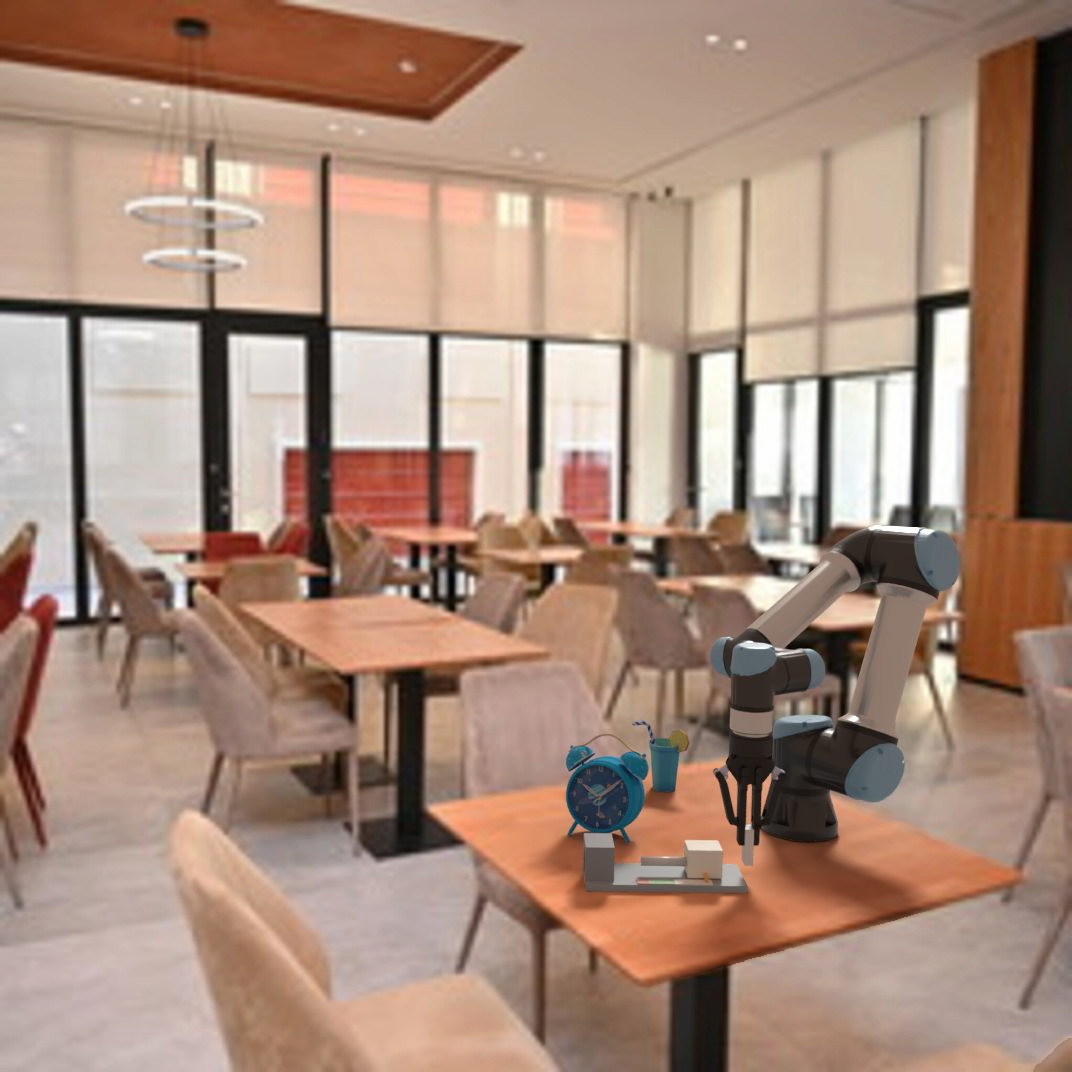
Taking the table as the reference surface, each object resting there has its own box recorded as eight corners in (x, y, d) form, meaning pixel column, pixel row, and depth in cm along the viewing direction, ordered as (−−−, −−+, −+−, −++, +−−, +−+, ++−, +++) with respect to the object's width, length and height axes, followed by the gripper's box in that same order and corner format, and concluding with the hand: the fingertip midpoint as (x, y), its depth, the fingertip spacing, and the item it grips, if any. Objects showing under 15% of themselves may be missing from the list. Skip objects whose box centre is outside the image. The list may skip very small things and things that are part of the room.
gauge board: (736, 870, 194) (737, 831, 193) (747, 892, 184) (748, 852, 183) (582, 868, 194) (583, 830, 193) (585, 891, 184) (586, 850, 183)
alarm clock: (555, 838, 209) (556, 738, 207) (571, 822, 218) (573, 726, 217) (638, 850, 203) (640, 747, 201) (651, 833, 213) (653, 734, 211)
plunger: (717, 867, 191) (717, 840, 191) (724, 883, 184) (725, 854, 184) (639, 866, 191) (639, 839, 191) (643, 882, 184) (644, 854, 184)
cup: (625, 788, 241) (626, 723, 240) (636, 779, 248) (638, 715, 247) (684, 797, 235) (686, 730, 234) (694, 787, 242) (696, 722, 241)
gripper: (783, 726, 191) (778, 855, 192) (710, 725, 191) (706, 854, 192) (793, 737, 183) (789, 871, 185) (717, 736, 183) (714, 870, 185)
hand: (747, 862), depth 189 cm, fingers closed
